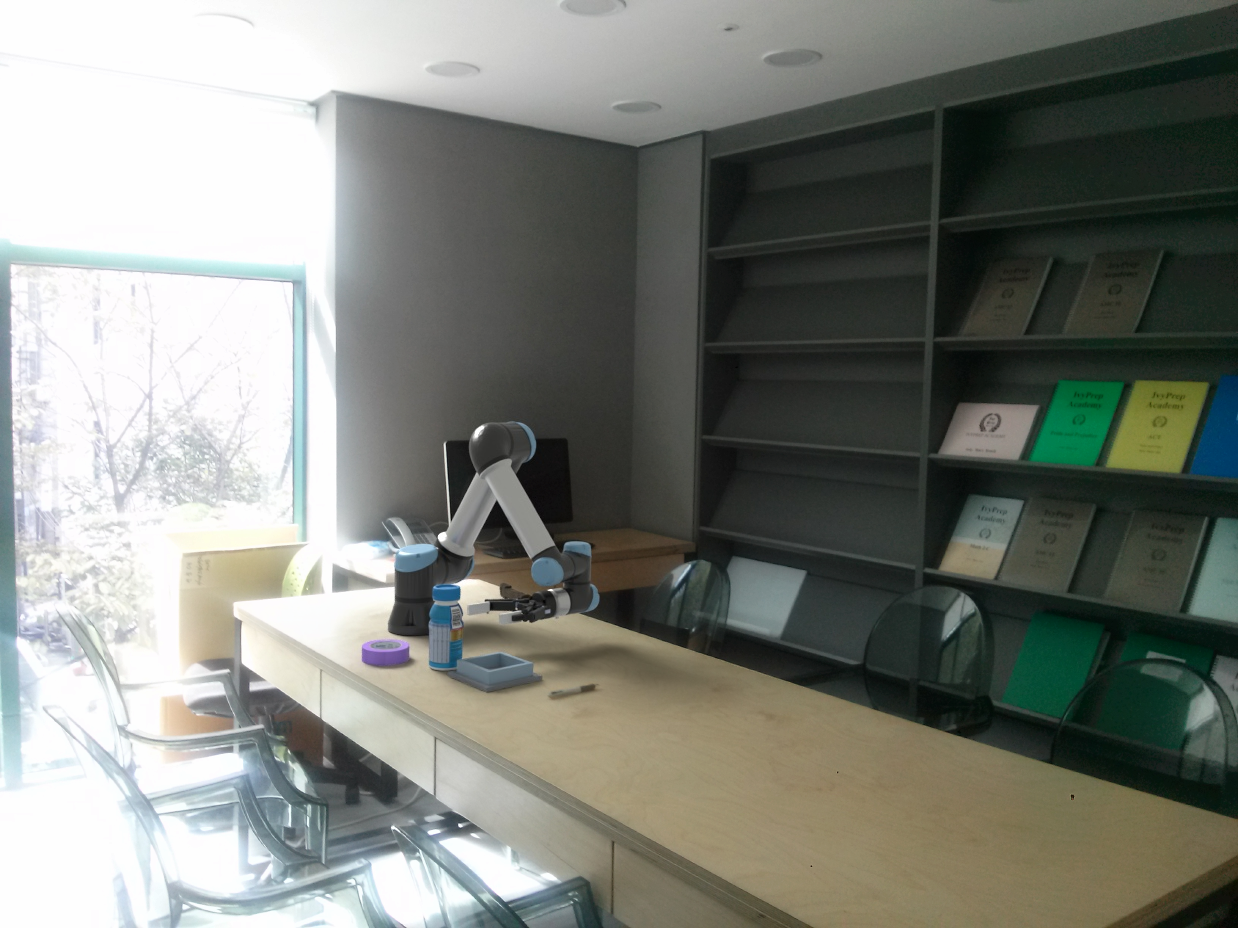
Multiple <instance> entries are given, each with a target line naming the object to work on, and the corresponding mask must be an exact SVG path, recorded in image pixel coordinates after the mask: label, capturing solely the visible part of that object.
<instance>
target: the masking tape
mask: <svg viewBox="0 0 1238 928" xmlns="http://www.w3.org/2000/svg"><path fill="white" fill-rule="evenodd" d="M409 660H410V643H409V642H408V641H404V640H402V639H390V638H387V639H386V638H385V639H374V640H369V641H367V642H366V641H365V642H364V643H363V644H362V645H361V662H362V663H363V664H367V665H371V666H395V665H400V664H403V663H406V662H408V661H409Z"/></svg>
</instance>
